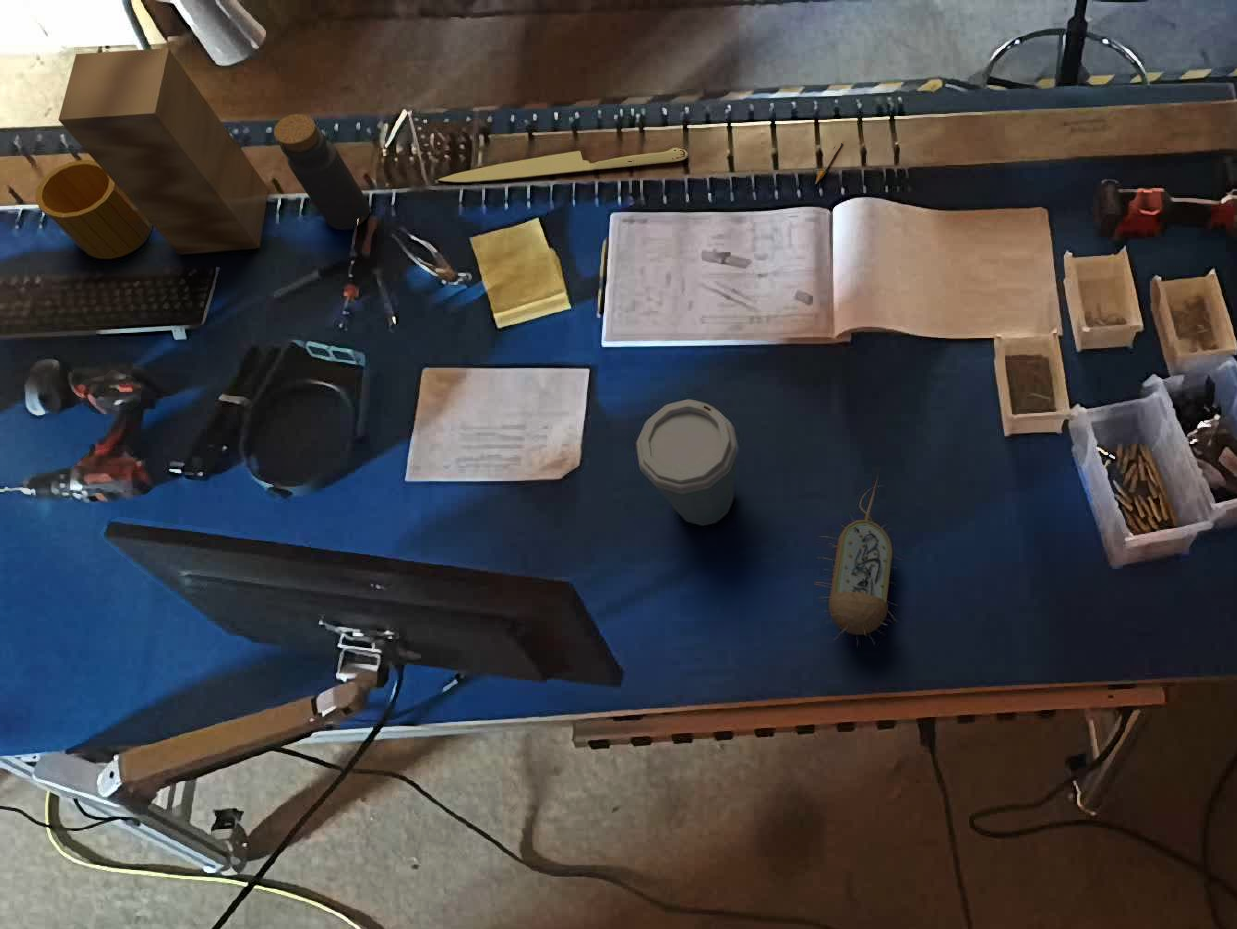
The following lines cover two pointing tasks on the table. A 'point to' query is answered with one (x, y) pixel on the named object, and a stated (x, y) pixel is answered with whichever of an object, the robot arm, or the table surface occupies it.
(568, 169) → the knife
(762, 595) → the table surface
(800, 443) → the table surface
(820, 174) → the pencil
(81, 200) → the wooden cup
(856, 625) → the bacterium
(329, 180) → the bottle
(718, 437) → the disposable coffee cup
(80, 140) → the stand
